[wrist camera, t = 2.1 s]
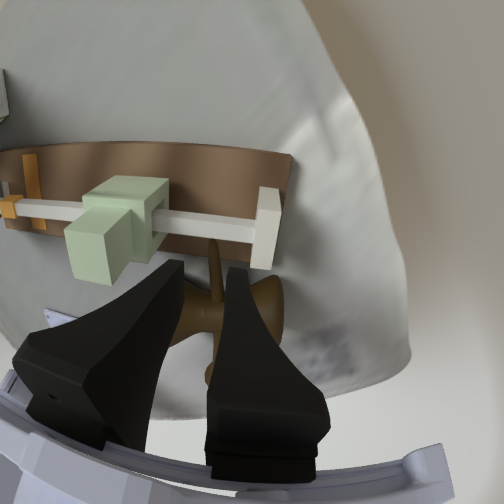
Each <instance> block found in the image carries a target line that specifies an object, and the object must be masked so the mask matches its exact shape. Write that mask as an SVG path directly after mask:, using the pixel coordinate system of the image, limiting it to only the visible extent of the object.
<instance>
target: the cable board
mask: <svg viewBox="0 0 504 504" xmlns="http://www.w3.org/2000/svg"><path fill="white" fill-rule="evenodd" d="M291 158H292V157H291V155H290V154H284V153H277V152H270V151H263V150H255V149H247V148H239V147H229V146H219V145H207V144H194V143H177V142H151V141H103V142H78V143H62V144H50V145H40V146H30V147H22V148H15V149H8V150H1V151H0V180H2V182H8V186H9V193H10V195H23V197H24V199H42V200H58V201H73V202H83V201H82V196H83V195H85V194H86V193H88V192H89V191H91V190H93V189H94V188H96V187H97V186H99V185H100V184H102V183H104V182H105V181H107V180H108V179H110V178H112V177H113V176H115V175H120V176H139V177H155V178H169V210H175V211H184V212H193V213H202V214H210V215H219V216H227V217H235V218H243V219H251V220H255V218H256V211H257V204H258V196H259V189H260V186H261V187H268V188H276V189H279V197H280V204H281V216H282V211H283V205H284V199H285V194H286V188H287V182H288V176H289V170H290V164H291ZM4 220H5V225H6V228H9V229H15V230H22V231H28V232H35V233H41V234H48V235H54V236H61V237H65V235H64V229H65V228H66V227H67V226H69V225H70V224H71V223H72V221H63V220H54V219H45V218H36V217H27V216H19V217H17V218H16V219H13V218H4ZM280 222H281V218H280ZM279 227H280V223H279ZM278 233H279V229H278ZM277 238H278V234H277ZM210 239H211V238H206V237H198V236H190V235H182V234H174V233H168V234H167V235H166V237H165V238H164V240H163V241H162V243H161V244H160V246H159V247H158V249H157V250H159V251H166V252H173V253H181V254H188V255H196V256H203V257H209V255H208V244H209V240H210ZM216 241H217V244H218V249H219V255H220V259H226V260H234V261H241V262H249V263H250V262H251V252H252V243H245V242H238V241H230V240H222V239H216ZM276 244H277V240H276ZM275 249H276V245H275ZM274 254H275V251H274ZM273 260H274V256H273ZM272 265H273V261H272Z"/></svg>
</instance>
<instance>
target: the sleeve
mask: <svg viewBox="0 0 504 504" xmlns="http://www.w3.org/2000/svg"><path fill="white" fill-rule="evenodd" d="M82 201H83V210H84V214H82V215H81V216H80V217H78V218H77V219H76V220H75V221H73V222H72V223H71V224H70V225H69V226H67V227H66V228H65V229H64V235H65V240H66V245H67V249H68V254H69V258H70V262H71V266H72V270H73V274H74V278H76V279H81V280H85V281H90V282H95V283H100V284H104V285H109V286H113V284H114V283H115V281H116V280H117V278H118V277H119V275H120V274H121V273H122V271H123V270H124V268H125V267H126V266H127V264H128V263H129V261H132V262H138V263H144V264H148V263H149V261H150V260H151V258H152V257H153V255H154V253H155V252H156V250H157V249H158V247H159V246H160V244H161V243H162V241H163V240H164V238H165V237H166V235H167V234H168V233H166V232H158V231H152V217H151V212H152V210H153V209H154V208H155V209H165V210H169V178H155V177H139V176H120V175H115V176H113V177H112V178H110V179H108V180H107V181H105V182H104V183H102V184H100V185H99V186H97V187H96V188H94V189H93V190H91V191H89V192H88V193H86V194H85V195H83V196H82Z"/></svg>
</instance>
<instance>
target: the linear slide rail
mask: <svg viewBox="0 0 504 504" xmlns="http://www.w3.org/2000/svg"><path fill="white" fill-rule="evenodd" d="M82 214H84V210H83V202H73V201H58V200H42V199H24V197H23V195H10V193H9V186H8V182H2V180H0V218H1V217H4V218H13V219H16V218H17V217H19V216H27V217H36V218H45V219H54V220H63V221H72V222H73V221H75V220H76V219H77V218H78V217H80V216H81V215H82ZM151 217H152V231H158V232H166V233H174V234H182V235H190V236H198V237H206V238H214V239H222V240H230V241H238V242H245V243H252V252H251V262H250V268H257V269H265V270H271V267H272V261H273V256H274V251H275V245H276V240H277V234H278V229H279V223H280V218H281V204H280V197H279V189H276V188H268V187H261V186H260V189H259V196H258V204H257V211H256V218H255V220H251V219H243V218H235V217H227V216H219V215H210V214H202V213H193V212H184V211H175V210H165V209H155V208H154V209H153V210H152V212H151Z"/></svg>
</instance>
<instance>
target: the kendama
mask: <svg viewBox="0 0 504 504" xmlns="http://www.w3.org/2000/svg"><path fill="white" fill-rule="evenodd" d="M208 255H209V273H210V287H211V291H210V290H202V289H199V288H197V287H195V286H194V285H192V284H190V283H189V282H187V281H186V280H184V296H185V300H184V304H183V308H182V312H181V316H180V320H179V322H178V325H177V327H176V330H175V333H174V335H173V338H172V340H171V343H170V345H169V347H172V346H174V345H176V344H177V343H179V342H181V341H183V340H184V339H186V338H188V337H190V336H192V335H194V334H197V333H200V332H214V349H213V362H212V363H211V364H210V365H209V366H208V367H207V369H206V371H205V382H206V384H207V385H208V388H209V384H210V380H211V376H212V372H213V368H214V363H215V359H216V354H217V350H218V345H219V341H220V336H221V331H222V326H223V315H224V303H225V291H224V286H223V279H222V271H221V263H220V255H219V249H218V244H217V241H216V239H214V238H211V239H210V240H209V244H208ZM250 290H251V293H252V296H253V298H254V301H255V304H256V306H257V309H258V311H259V313H260V315H261V317H262V319H263V321H264V323H265V325H266V327H267V328H268V330H269V332H270V333H271V335H272V337H273V338H274V340H275V341H276V343H277V344H278V346H279V345H280V343H281V339H282V334H283V323H284V299H283V289H282V284H281V280H280V279H279V277H278V276H277V275H271V276H268V277H266V278H264V279H262V280H260V281H258V282H256V283H254V284H252V285H250ZM207 392H208V390H207Z"/></svg>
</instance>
